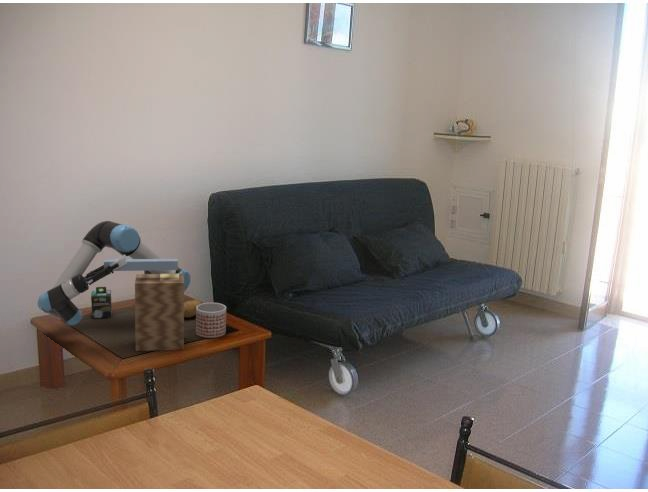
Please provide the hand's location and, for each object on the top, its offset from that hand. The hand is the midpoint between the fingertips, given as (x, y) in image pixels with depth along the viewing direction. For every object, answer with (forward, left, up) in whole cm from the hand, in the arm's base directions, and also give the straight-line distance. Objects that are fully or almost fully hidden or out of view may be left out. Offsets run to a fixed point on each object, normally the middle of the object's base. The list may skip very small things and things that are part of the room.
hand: (125, 258), depth 272 cm
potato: (-44, -5, -39) cm, 59 cm away
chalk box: (-18, -38, -39) cm, 57 cm away
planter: (-34, +18, -39) cm, 55 cm away
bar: (-5, +4, -5) cm, 8 cm away
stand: (-10, +10, -39) cm, 41 cm away
